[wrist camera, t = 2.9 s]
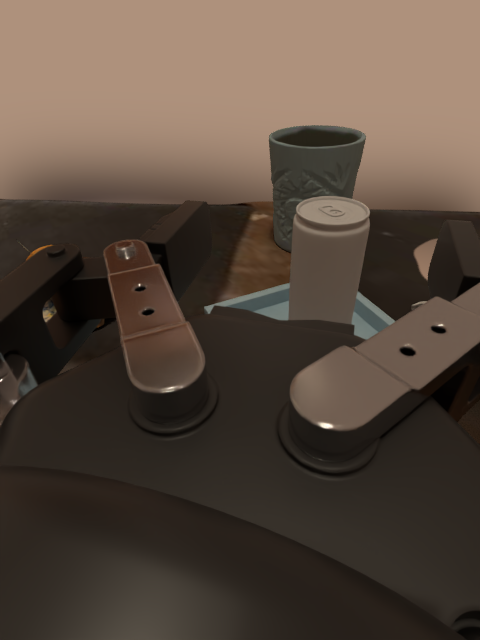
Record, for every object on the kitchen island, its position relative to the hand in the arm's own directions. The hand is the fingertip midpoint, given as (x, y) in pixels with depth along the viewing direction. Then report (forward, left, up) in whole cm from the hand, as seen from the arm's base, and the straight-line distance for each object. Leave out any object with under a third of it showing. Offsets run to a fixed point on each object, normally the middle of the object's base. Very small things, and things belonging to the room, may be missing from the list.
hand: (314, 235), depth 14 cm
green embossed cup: (-27, +18, -16) cm, 36 cm away
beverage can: (-9, +7, -16) cm, 19 cm away
